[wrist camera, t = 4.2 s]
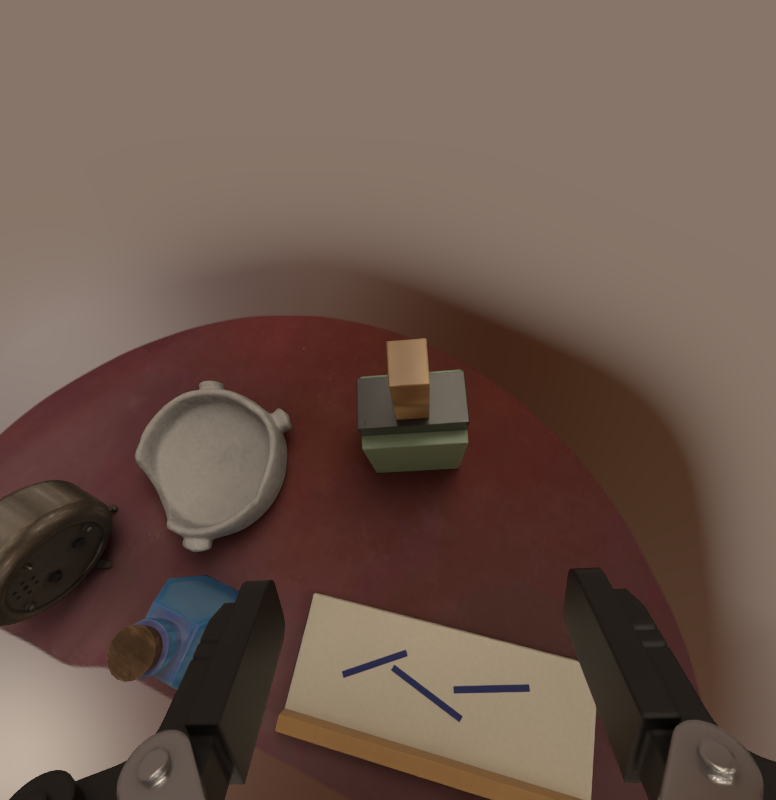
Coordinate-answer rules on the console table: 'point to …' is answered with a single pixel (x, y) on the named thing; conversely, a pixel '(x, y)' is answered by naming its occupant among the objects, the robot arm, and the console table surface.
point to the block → (415, 449)
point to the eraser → (411, 395)
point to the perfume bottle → (168, 631)
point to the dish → (214, 462)
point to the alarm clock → (48, 545)
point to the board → (442, 704)
